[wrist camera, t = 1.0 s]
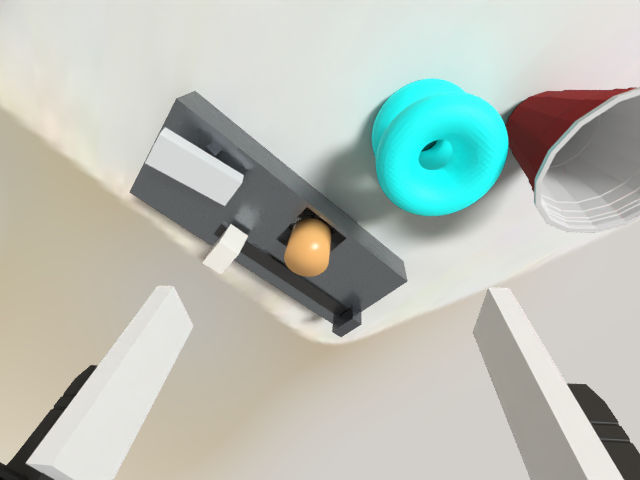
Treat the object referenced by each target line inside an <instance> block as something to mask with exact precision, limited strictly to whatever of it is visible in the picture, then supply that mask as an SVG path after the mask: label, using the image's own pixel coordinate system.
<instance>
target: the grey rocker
mask: <svg viewBox="0 0 640 480" xmlns="http://www.w3.org/2000/svg"><path fill="white" fill-rule="evenodd" d="M145 163H146V164H148V165H149V166H151V167H153V168H155V169H157V170H159V171H161V172H162V173H164V174H166V175H168V176H170V177H172V178H173V179H175V180H177V181H179V182H181V183H183V184H185V185H186V186H188V187H190V188H192V189H194V190H196V191H198V192H199V193H201V194H203V195H205V196H207V197H209V198H211V199H212V200H214V201H216V202H218V203H220V204H222V205H224V206H225V205H226V204H227V202H228V201H229V200H230V198H231V197H232V196H233V195H234V193H235V192H236V191H237V189H238V188H239V187H240V185H241V184H242V181H243V177H244V175H242V174H241V173H239V172H238V171H236V170H234V169H233V168H231V167H229V166H228V165H226V164H224V163H223V162H221V161H220V160H218V159H216V158H215V157H213V156H211V155H210V154H208V153H207V152H205V151H203V150H202V149H200V148H198V147H197V146H195V145H194V144H192V143H190V142H189V141H187V140H185V139H184V138H182V137H181V136H179V135H177V134H176V133H174V132H172V131H171V130H169V129H168V128H166V127H165V128H164V129H163V130H162V131H161V133H160V134H159V136H158V138H157V140H156V142H155V144H154V146H153V148H152V150H151V152H150V154H149V156H148V158H147V160H146V162H145Z"/></svg>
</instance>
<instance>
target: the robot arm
mask: <svg viewBox="0 0 640 480" xmlns="http://www.w3.org/2000/svg"><path fill="white" fill-rule="evenodd" d="M192 329H193V324H192V322H191V320H190V318H189V316H188V314H187V312H186V310H185V308H184V306H183V304H182V302H181V300H180V298H179V296H178V294H177V292H176V290H175V288H174V286H157V287H156V288H155V290H154V291H153V292H152V294H151V295H150V296H149V298H148V299H147V301H146V302H145V303H144V305H143V306H142V307H141V309H140V310H139V312H138V313H137V314H136V315H135V317H134V318H133V319H132V321H131V322H130V323H129V325H128V326H127V327H126V329H125V330H124V331H123V333H122V334H121V336H120V337H119V338H118V340H117V341H116V343H115V344H114V345H113V346H112V348H111V349H110V350H109V352H108V353H107V354H106V356H105V357H104V359H103V360H102V361H101V362H100V364H99V365H98V366H94V365H91V366H89V367H88V368H87V369H86V370H85V371H83V372H82V373H81V374H80V375H79V376H78V377H77V378H75V380H74V381H73V382H72V383H71V385H70V386H69V387H68V388H67V390H66V391H65V393H64V395H63V397H60V399H59V400H58V401H57V403H56V404H55V405H54V408H53V409H52V410H50V412H49V413H48V414H47V415H46V417H45V418H44V419H43V421H42V422H41V423H40V424H39V426H38V427H37V428H36V430H35V431H34V432H33V433H32V435H31V436H30V437H29V438H28V440H27V441H26V442H25V444H24V445H23V446H22V447H21V449H20V450H19V451H18V453H17V454H16V455H15V456H14V458H13V459H12V460H11V461H10V462H9V463H8V464H7V465H4V464H2V463H0V480H113V479H114V477H115V475H116V473H117V471H118V470H119V468H120V466H121V464H122V462H123V460H124V458H125V456H126V454H127V452H128V450H129V449H130V447H131V445H132V443H133V441H134V439H135V437H136V435H137V433H138V431H139V430H140V428H141V426H142V424H143V422H144V420H145V418H146V416H147V414H148V412H149V411H150V409H151V407H152V405H153V403H154V401H155V399H156V397H157V395H158V393H159V391H160V390H161V388H162V386H163V384H164V382H165V380H166V378H167V376H168V374H169V372H170V370H171V369H172V366H173V365H174V363H175V361H176V359H177V357H178V355H179V353H180V351H181V349H182V347H183V346H184V344H185V342H186V340H187V338H188V336H189V334H190V332H191V330H192ZM473 334H474V337H475V339H476V342H477V344H478V347H479V349H480V352H481V354H482V357H483V359H484V362H485V365H486V367H487V370H488V372H489V374H490V377H491V380H492V382H493V385H494V387H495V390H496V392H497V395H498V398H499V400H500V403H501V405H502V408H503V410H504V413H505V415H506V418H507V421H508V423H509V426H510V428H511V431H512V433H513V436H514V438H515V440H516V443H517V446H518V448H519V451H520V454H521V456H522V459H523V461H524V464H525V466H526V469H527V471H528V474H529V477H530V479H531V480H640V454H639V452H638V451H637V449H636V448H635V446H634V445H633V444H632V443H631V442H630V439H629V437H628V436H627V434H626V433H625V431H624V430H623V428H622V427H621V426H619V424H618V421H617V419H616V418H615V416H614V415H613V413H612V412H611V410H610V409H609V408H608V406H607V404H606V403H605V402H604V401H603V400H602V399H601V398H600V397H599V396H598V395H597V394H596V393H595V392H594V391H593V390H591V389H590V388H589V387H588V386H587V385H586V384H566V382H565V380H564V379H563V377H562V375H561V374H560V372H559V370H558V369H557V367H556V365H555V364H554V362H553V360H552V359H551V357H550V355H549V354H548V352H547V350H546V349H545V347H544V345H543V343H542V342H541V340H540V338H539V337H538V335H537V333H536V332H535V330H534V328H533V327H532V325H531V323H530V322H529V320H528V319H527V317H526V315H525V314H524V312H523V310H522V308H521V307H520V305H519V303H518V302H517V300H516V299H515V297H514V295H513V293H512V292H511V290H510V288H488V290H487V293H486V296H485V299H484V302H483V305H482V307H481V310H480V313H479V316H478V319H477V322H476V325H475V328H474V331H473Z"/></svg>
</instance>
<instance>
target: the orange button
mask: <svg viewBox="0 0 640 480" xmlns="http://www.w3.org/2000/svg"><path fill="white" fill-rule="evenodd" d="M330 245H331V230H330V228H329V227H328V225H327V224H326V223H325V222H323V221H321V220H319V219H316V218H304V219H301V220H299V221H298V222H297V223H296V224H295V225H294V226H293V229H292V232H291V235H290V238H289V242H288V245H287V248H286V251H285V255H284V260H285V263H286V265H287V267H288V268H289V269H290V270H291V271H292V272H294V273H296V274H298V275H301V276H306V277H312V276H317V275H319V274H321V273H322V272H324V271H325V270H326V268H327V267H328V263H329V255H330Z"/></svg>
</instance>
